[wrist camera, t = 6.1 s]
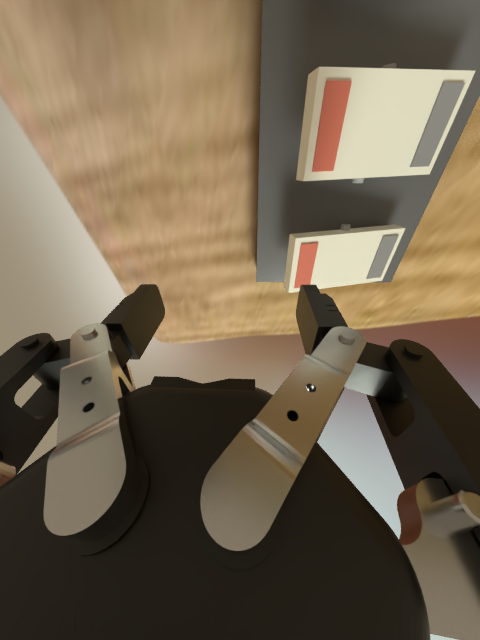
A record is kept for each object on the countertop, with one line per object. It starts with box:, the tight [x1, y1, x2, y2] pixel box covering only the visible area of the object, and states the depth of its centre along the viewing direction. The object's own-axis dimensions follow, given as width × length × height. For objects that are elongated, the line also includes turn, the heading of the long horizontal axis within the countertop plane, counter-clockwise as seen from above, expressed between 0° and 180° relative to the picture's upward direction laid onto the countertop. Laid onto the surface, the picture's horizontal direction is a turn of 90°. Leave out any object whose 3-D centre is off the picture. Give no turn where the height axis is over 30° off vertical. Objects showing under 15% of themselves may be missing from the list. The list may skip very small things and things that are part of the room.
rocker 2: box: [284, 224, 405, 293], centre depth 15 cm, size 8×5×1 cm, turn 92°
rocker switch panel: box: [256, 0, 480, 282], centre depth 14 cm, size 12×20×3 cm, turn 2°
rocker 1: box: [296, 63, 475, 183], centre depth 11 cm, size 8×5×1 cm, turn 92°
